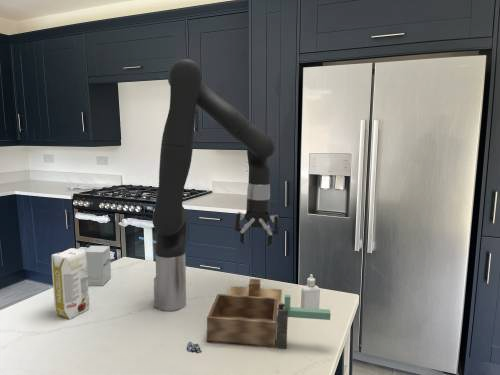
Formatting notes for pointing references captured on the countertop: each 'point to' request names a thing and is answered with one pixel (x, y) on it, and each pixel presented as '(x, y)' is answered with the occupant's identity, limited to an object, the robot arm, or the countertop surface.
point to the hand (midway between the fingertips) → (256, 244)
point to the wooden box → (247, 321)
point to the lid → (256, 291)
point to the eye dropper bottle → (310, 294)
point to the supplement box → (98, 265)
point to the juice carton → (70, 282)
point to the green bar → (305, 311)
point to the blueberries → (193, 348)
